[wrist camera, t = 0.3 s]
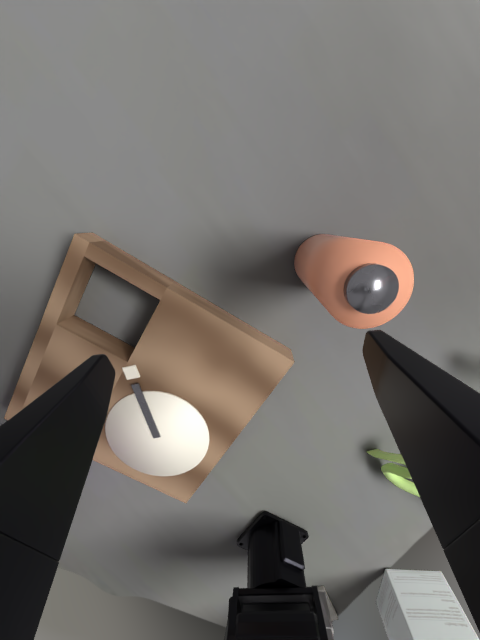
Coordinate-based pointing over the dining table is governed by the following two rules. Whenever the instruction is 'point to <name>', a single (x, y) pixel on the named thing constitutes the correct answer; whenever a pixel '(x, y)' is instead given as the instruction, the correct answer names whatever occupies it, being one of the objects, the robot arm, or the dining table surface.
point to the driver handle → (355, 278)
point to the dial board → (156, 372)
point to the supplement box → (421, 607)
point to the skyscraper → (327, 611)
